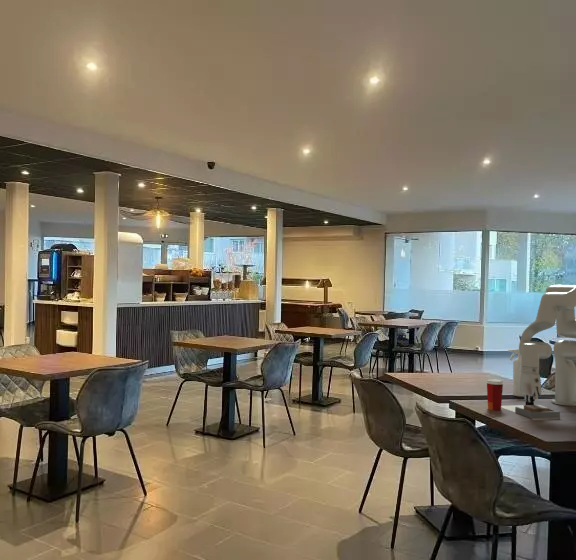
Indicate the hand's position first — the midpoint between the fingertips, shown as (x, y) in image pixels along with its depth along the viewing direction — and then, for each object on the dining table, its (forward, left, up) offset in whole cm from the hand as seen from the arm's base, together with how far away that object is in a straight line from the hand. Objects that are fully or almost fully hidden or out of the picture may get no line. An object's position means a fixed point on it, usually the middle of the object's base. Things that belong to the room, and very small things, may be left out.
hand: (529, 410), depth 267 cm
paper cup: (+13, -8, -2) cm, 15 cm away
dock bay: (0, -2, -1) cm, 2 cm away
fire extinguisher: (-24, -43, -2) cm, 49 cm away
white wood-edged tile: (0, +6, -1) cm, 6 cm away
